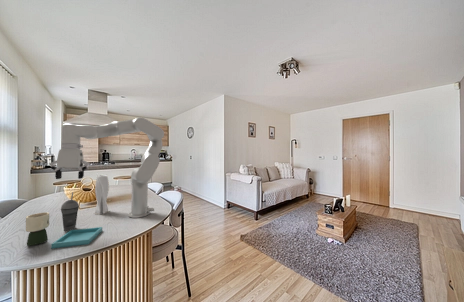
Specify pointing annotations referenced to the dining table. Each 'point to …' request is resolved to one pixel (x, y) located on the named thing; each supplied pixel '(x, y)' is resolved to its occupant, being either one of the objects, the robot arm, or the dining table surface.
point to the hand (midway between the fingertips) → (69, 178)
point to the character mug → (37, 228)
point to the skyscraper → (101, 194)
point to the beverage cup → (69, 214)
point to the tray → (77, 237)
